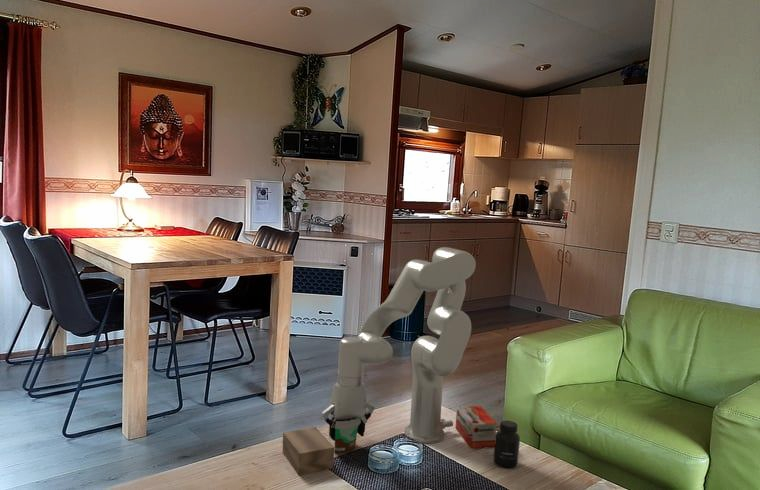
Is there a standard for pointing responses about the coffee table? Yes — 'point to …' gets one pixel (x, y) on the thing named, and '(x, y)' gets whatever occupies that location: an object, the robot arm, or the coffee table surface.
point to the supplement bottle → (507, 445)
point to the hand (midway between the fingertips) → (346, 436)
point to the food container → (346, 434)
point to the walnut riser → (308, 450)
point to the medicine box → (476, 427)
